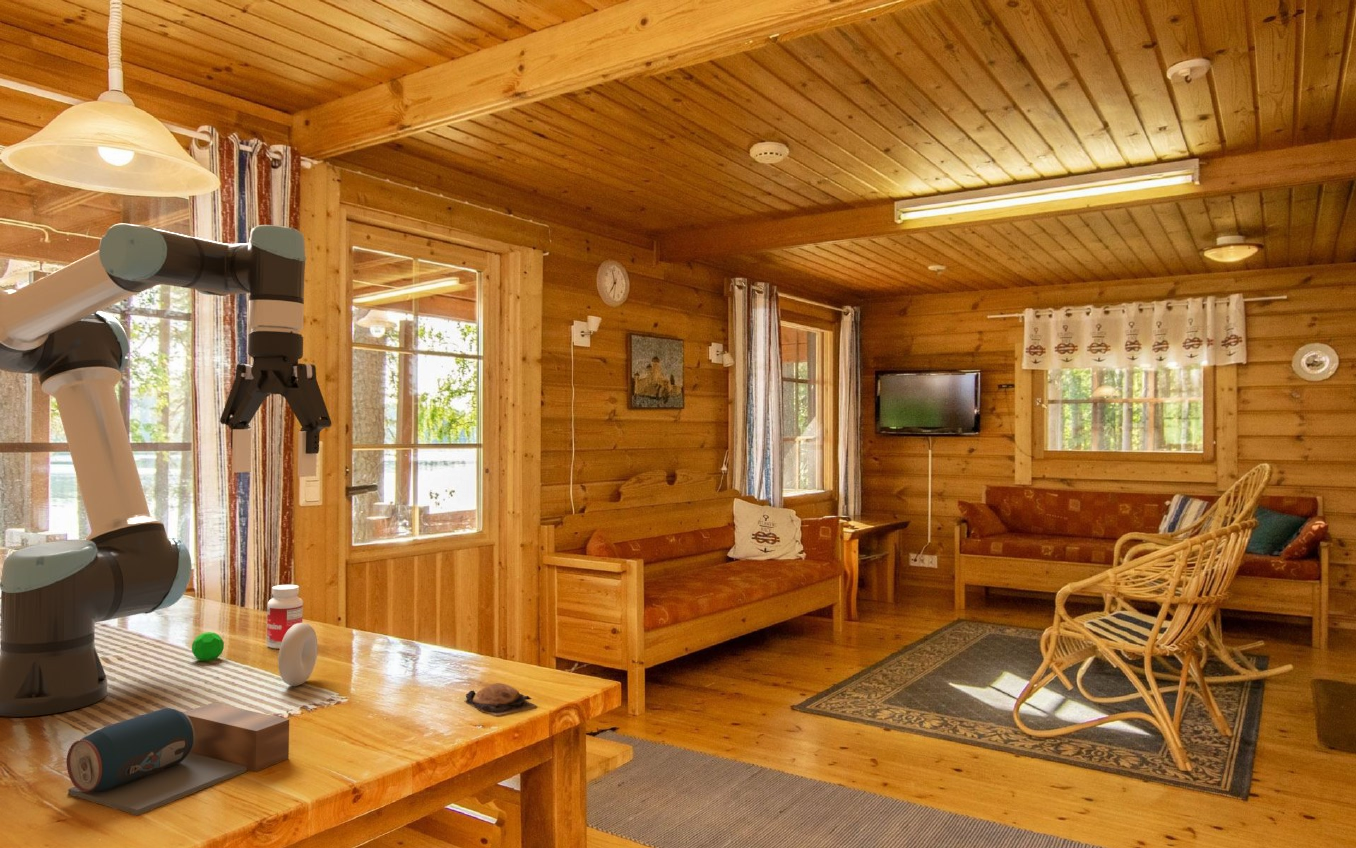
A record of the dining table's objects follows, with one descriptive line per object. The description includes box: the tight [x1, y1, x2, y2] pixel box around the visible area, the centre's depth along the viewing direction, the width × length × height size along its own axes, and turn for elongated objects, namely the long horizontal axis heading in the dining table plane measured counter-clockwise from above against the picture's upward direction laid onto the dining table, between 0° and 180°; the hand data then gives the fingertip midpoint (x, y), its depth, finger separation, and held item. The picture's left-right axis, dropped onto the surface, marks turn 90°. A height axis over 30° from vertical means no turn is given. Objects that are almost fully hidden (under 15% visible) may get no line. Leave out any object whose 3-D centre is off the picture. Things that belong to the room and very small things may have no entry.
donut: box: [277, 622, 319, 687], centre depth 149 cm, size 10×4×10 cm, turn 0°
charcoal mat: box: [67, 752, 247, 816], centre depth 109 cm, size 12×14×1 cm
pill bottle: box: [266, 584, 304, 650], centre depth 173 cm, size 6×6×11 cm
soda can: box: [65, 707, 195, 792], centre depth 109 cm, size 7×7×12 cm
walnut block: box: [182, 702, 290, 773], centre depth 118 cm, size 14×5×5 cm, turn 65°
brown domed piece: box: [464, 682, 538, 718], centre depth 141 cm, size 11×8×4 cm
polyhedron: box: [191, 631, 225, 662], centre depth 162 cm, size 5×5×5 cm
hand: (273, 474), depth 137 cm, fingers open, 13 cm apart
